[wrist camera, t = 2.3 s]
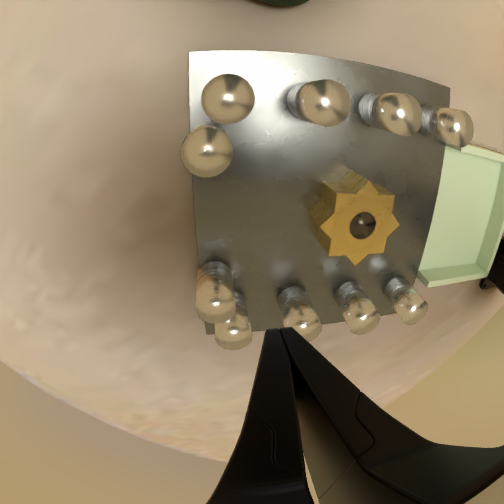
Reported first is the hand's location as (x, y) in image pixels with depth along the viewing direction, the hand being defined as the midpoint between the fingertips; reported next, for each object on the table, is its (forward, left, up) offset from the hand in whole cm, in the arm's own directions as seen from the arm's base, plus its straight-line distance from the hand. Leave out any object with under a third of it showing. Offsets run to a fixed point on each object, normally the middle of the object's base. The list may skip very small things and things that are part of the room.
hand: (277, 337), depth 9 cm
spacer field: (-6, 0, -11) cm, 13 cm away
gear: (-7, 0, -11) cm, 13 cm away
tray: (-19, 0, -11) cm, 22 cm away
